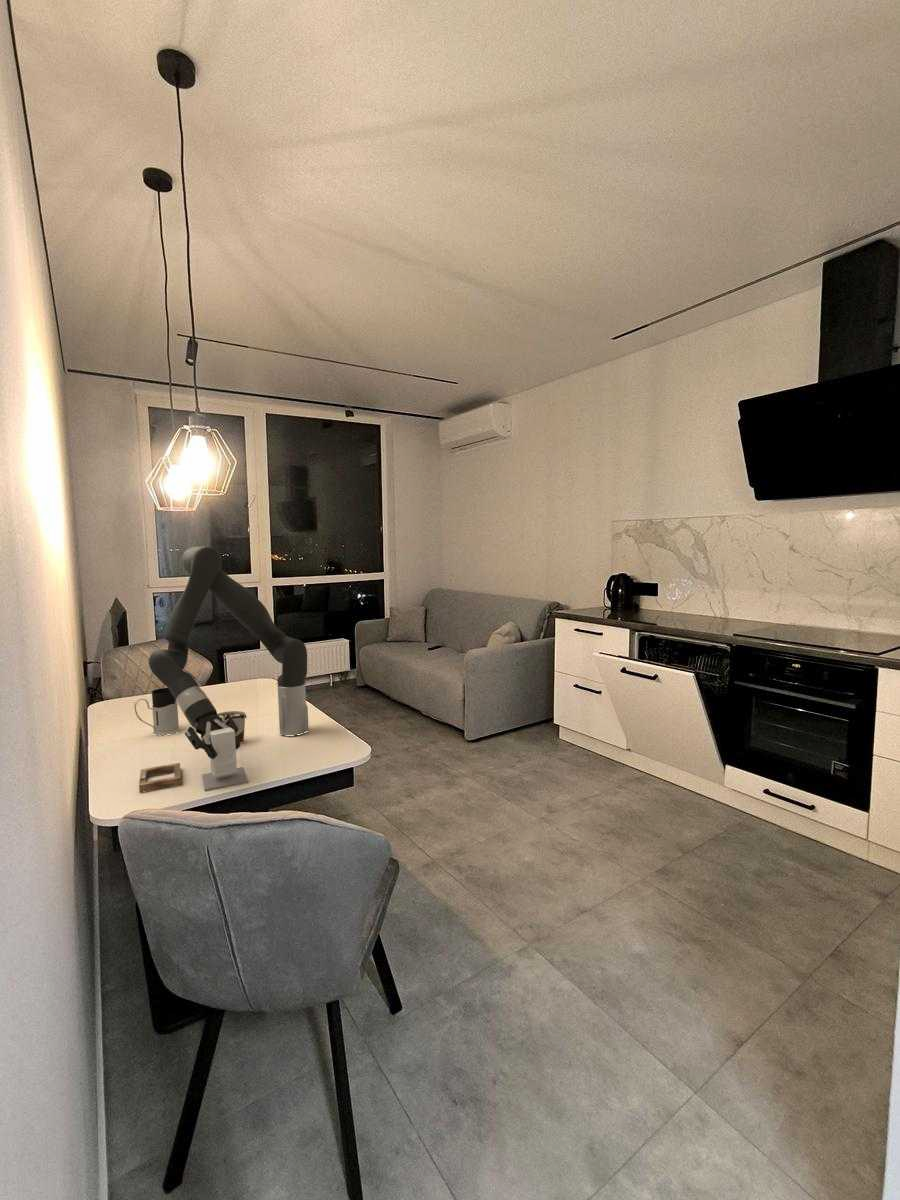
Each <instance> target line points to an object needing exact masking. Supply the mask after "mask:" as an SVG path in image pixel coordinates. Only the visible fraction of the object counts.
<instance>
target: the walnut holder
mask: <svg viewBox="0 0 900 1200" xmlns="http://www.w3.org/2000/svg"><path fill="white" fill-rule="evenodd" d="M172 773H174V776H172V777H167V778H162V779H157V780H150V781H149V780H148V778H149V777H148V776H150V777H156V776H160V775H165V774H172ZM155 775H156V776H155ZM181 785H182V778H181V763H180V762H176V763H172V764H171V763H170V764H164V765H159V766H154V767H153V766H152V767H147V768H142V769H140V774H139V783H138V788H139V789H138V790H139V793H140V792H141V793H144V792H143V791H146V792H150V791H149V790H151V791H155V790H161V789H167V788H173V787H177V786H181Z"/></svg>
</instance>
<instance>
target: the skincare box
mask: <svg viewBox="0 0 900 1200" xmlns="http://www.w3.org/2000/svg"><path fill="white" fill-rule="evenodd" d="M209 744H211V745H212V746H213V748H214V749H215V751H216V752H217V754H218V755H217V757H216V758H215V759H211V758H210V757H209V759H210V773H212V774H213V775H214V776H215V777H218V776H222V775H226V774H230V773H234V772H237V768H238V767H237V750H236V745H235V731H234V730H233V729H232V728H230V727H229V728H224V729H219V730H214V731H210V743H209Z"/></svg>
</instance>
